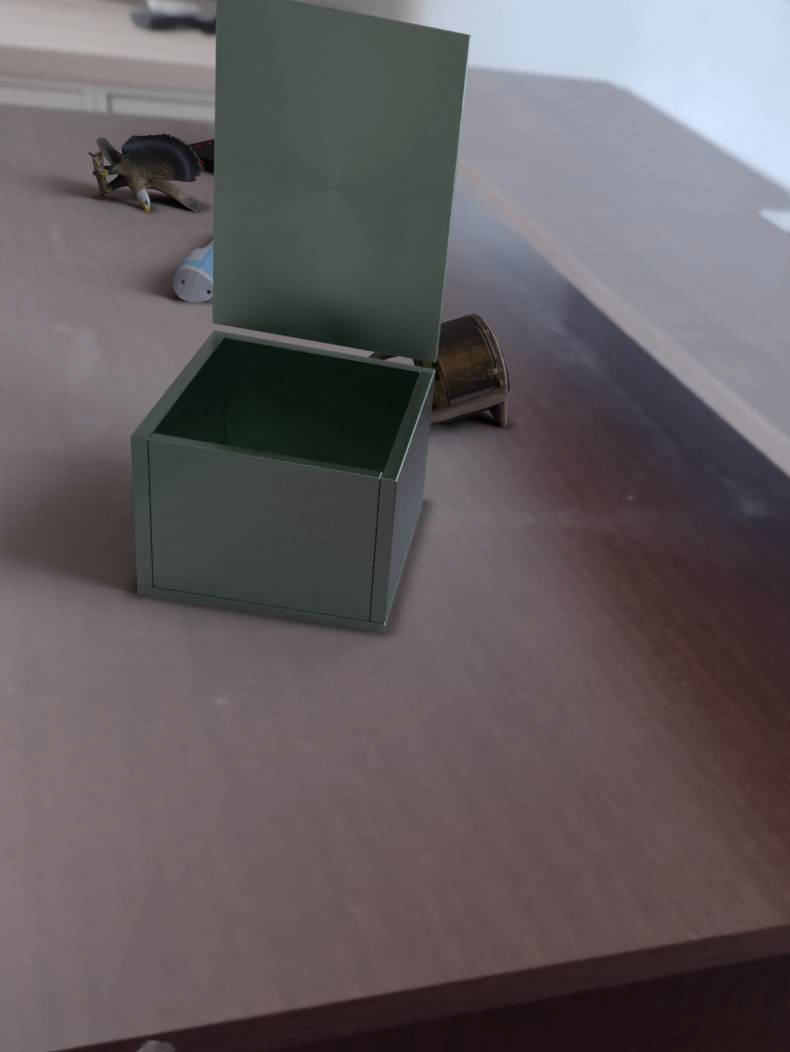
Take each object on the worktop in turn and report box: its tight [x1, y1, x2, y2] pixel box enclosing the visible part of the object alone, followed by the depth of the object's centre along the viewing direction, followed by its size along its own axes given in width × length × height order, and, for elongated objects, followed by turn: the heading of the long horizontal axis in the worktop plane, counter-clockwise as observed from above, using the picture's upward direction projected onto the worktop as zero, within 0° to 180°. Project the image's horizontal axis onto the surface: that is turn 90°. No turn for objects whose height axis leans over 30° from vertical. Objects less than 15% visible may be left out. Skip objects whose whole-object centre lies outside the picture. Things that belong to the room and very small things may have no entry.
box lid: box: [211, 0, 472, 363], centre depth 73 cm, size 16×13×6 cm
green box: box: [130, 329, 435, 634], centre depth 72 cm, size 16×13×9 cm
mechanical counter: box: [368, 313, 511, 428], centre depth 90 cm, size 7×13×10 cm
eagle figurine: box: [88, 132, 204, 212], centre depth 118 cm, size 8×7×9 cm
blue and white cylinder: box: [172, 239, 213, 303], centre depth 108 cm, size 19×3×3 cm, turn 3°
